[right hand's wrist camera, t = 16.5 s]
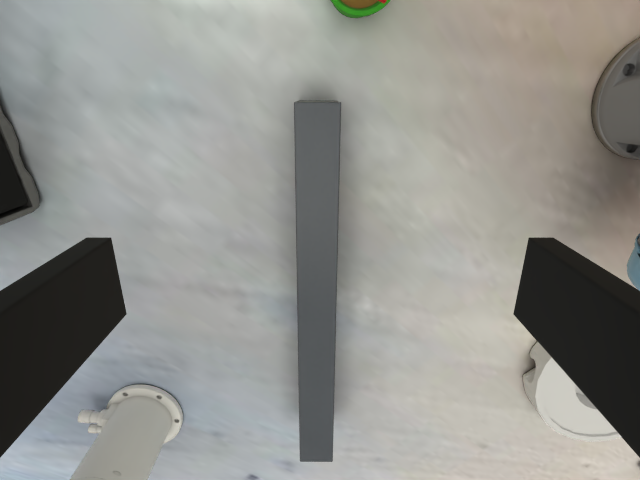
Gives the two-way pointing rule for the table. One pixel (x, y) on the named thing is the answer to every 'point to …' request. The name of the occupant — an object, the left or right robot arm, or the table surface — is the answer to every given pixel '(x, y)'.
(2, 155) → the black cooler box
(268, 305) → the table surface
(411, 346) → the table surface
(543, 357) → the ashtray
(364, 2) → the potted flower
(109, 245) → the right robot arm
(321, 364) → the beam
